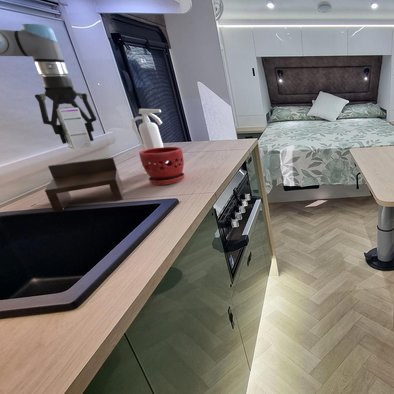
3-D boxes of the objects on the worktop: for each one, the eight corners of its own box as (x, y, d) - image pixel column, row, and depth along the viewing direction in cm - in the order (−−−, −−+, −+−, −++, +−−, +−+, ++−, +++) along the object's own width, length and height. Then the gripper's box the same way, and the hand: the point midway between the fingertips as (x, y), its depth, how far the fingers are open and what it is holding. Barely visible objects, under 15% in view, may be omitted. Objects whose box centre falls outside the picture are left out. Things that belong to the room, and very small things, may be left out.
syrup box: (93, 146, 111) (79, 107, 105) (73, 149, 106) (58, 108, 101) (87, 144, 114) (73, 106, 108) (67, 147, 109) (52, 107, 104)
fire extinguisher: (145, 170, 122) (127, 108, 112) (177, 167, 125) (161, 107, 115) (139, 175, 116) (119, 110, 106) (172, 172, 119) (156, 108, 109)
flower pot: (188, 183, 106) (180, 150, 101) (146, 189, 101) (135, 155, 96) (188, 173, 117) (181, 144, 112) (150, 178, 111) (141, 148, 107)
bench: (54, 212, 84) (38, 176, 79) (62, 198, 94) (48, 165, 90) (122, 199, 92) (111, 166, 88) (123, 187, 103) (113, 157, 98)
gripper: (10, 75, 92) (39, 146, 101) (91, 75, 103) (111, 140, 112) (16, 76, 98) (44, 143, 107) (93, 76, 109) (112, 137, 117)
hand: (78, 141), depth 109 cm, fingers closed on syrup box, 7 cm apart
